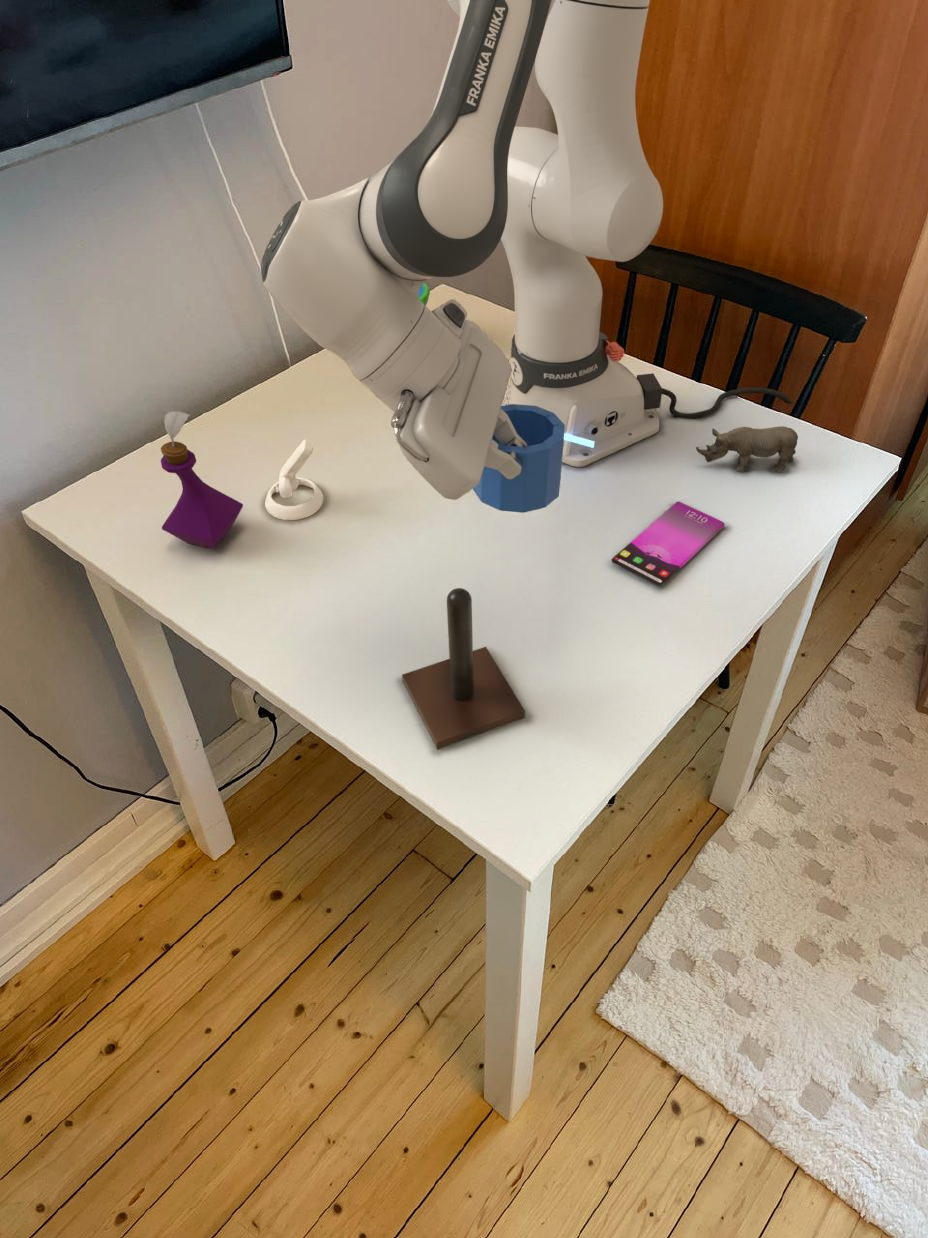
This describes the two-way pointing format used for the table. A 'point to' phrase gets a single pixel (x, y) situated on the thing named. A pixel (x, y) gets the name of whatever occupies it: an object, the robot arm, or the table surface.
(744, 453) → the rhino figurine
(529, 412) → the tape roll
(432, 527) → the table surface
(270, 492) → the hook
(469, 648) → the stand
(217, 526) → the perfume bottle
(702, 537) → the smartphone
